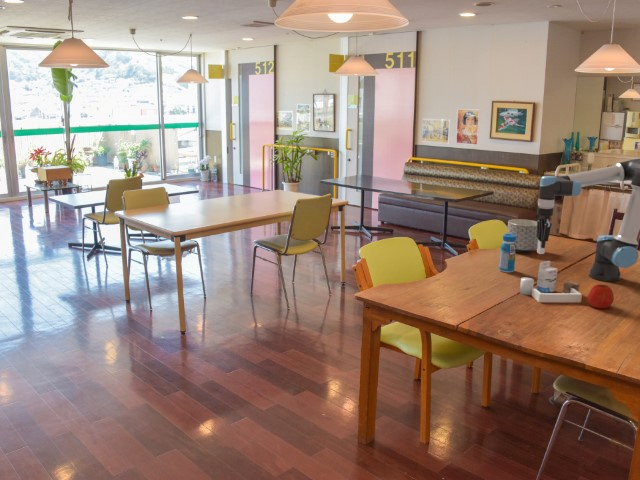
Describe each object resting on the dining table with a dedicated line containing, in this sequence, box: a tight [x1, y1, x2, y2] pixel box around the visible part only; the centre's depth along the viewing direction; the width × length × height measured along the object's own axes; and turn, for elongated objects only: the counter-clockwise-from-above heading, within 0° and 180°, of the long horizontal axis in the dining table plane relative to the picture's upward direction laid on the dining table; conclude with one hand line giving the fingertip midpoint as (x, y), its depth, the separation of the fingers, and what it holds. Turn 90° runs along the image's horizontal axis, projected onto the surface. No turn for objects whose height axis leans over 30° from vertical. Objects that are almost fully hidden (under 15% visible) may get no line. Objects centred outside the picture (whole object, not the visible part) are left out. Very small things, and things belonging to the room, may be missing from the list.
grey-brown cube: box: [562, 281, 580, 293], centre depth 297 cm, size 5×5×5 cm
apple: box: [587, 283, 615, 309], centre depth 278 cm, size 11×11×11 cm
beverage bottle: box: [498, 233, 517, 273], centre depth 331 cm, size 8×8×20 cm
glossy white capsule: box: [519, 276, 535, 296], centre depth 296 cm, size 6×6×7 cm
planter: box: [506, 218, 538, 254], centre depth 374 cm, size 19×19×18 cm
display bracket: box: [531, 287, 583, 303], centre depth 288 cm, size 20×9×4 cm, turn 92°
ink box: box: [536, 260, 559, 293], centre depth 298 cm, size 8×5×15 cm, turn 123°
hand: (540, 253), depth 307 cm, fingers closed
